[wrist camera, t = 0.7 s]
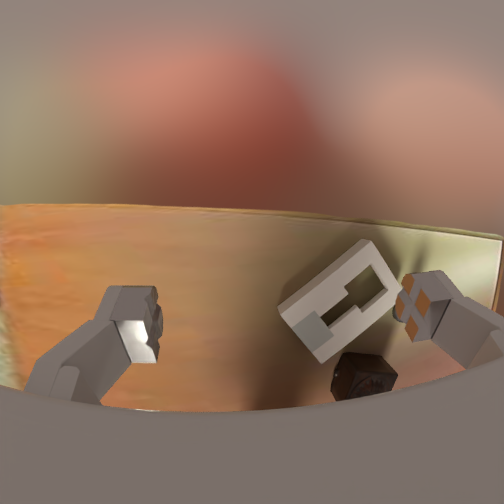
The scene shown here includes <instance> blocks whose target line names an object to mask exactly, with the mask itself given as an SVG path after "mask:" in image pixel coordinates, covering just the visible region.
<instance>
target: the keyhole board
mask: <svg viewBox="0 0 504 504" xmlns="http://www.w3.org/2000/svg"><path fill="white" fill-rule="evenodd" d="M369 265H371V267H372V268H373V270H374V271H375V273H376V275H377V276H378V278H379V279H380V281H381V282H382V284H383V285H384V287H385V288H384V289H382V290H381V291H380V292H379V293H378V294H377V295H375V296H374V297H373V298H372V299H371V300H370V301H368V302H367V303H366V304H365V305H364V306H363V307H361V308H360V309H359V308H358V307H357V306H356V305H354V306H353V307H351V308H350V309H349V310H348V311H346V312H345V313H344V314H343V315H342V316H340V317H339V318H338V319H337V320H335V321H334V322H333V323H332V324H330V325H329V326H328V327H327V326H326V324H325V323H324V322H323V320H322V319H321V318H320V316H322V315H323V314H324V313H326V312H327V311H328V310H329V309H331V308H332V307H333V306H334V305H336V304H337V303H338V302H339V301H341V300H342V299H343V298H344V297H345V296H347V295H348V292H347V291H346V289H345V288H344V286H345V285H346V284H348V283H349V282H350V281H351V280H352V279H354V278H355V277H356V276H357V275H358V274H360V273H361V272H362V271H363V270H364V269H365V268H367V267H368V266H369ZM401 290H402V289H401V287H400V285H399V284H398V282H397V280H396V279H395V277H394V275H393V274H392V272H391V271H390V269H389V267H388V266H387V264H386V263H385V261H384V259H383V258H382V256H381V255H380V253H379V252H378V250H377V249H376V247H375V245H374V244H373V242H372V241H370V240H366V239H360V240H359V241H358V242H357V243H356V244H354V245H353V246H352V247H351V248H350V249H348V250H347V251H346V252H345V253H344V254H342V255H341V256H340V257H339V258H338V259H336V260H335V261H334V262H333V263H332V264H330V265H329V266H328V267H327V268H325V269H324V270H323V271H322V272H320V273H319V274H318V275H317V276H315V277H314V278H313V279H312V280H310V281H309V282H308V283H307V284H305V285H304V286H303V287H302V288H300V289H299V290H298V291H297V292H295V293H294V294H293V295H291V296H290V297H289V298H288V299H286V300H285V301H284V302H282V303H281V304H280V305H279V306H277V308H278V311H279V314H280V315H281V317H282V318H283V319H284V320H285V321H286V323H287V324H288V325H289V326H290V327H291V329H292V330H293V331H294V332H295V333H296V335H297V336H298V337H299V338H300V339H301V341H302V342H303V343H304V344H305V345H306V347H307V348H308V349H309V350H310V351H311V352H312V354H313V355H314V356H315V357H316V358H317V360H318V361H319V362H320V363H321V364H322V363H324V362H325V361H326V360H328V359H329V358H330V357H332V356H333V355H334V354H336V353H337V352H338V351H339V350H341V349H342V348H343V347H345V346H346V345H347V344H348V343H350V342H351V341H352V340H353V339H355V338H356V337H357V336H358V335H360V334H361V333H362V332H363V331H365V330H366V329H367V328H368V327H369V326H371V325H372V324H373V323H374V322H375V321H376V320H378V319H379V318H380V317H381V316H382V315H383V314H385V313H386V312H387V311H388V310H389V309H390V308H391V307H393V306H394V305H395V301H396V298H397V295H398V293H399V292H400V291H401Z"/></svg>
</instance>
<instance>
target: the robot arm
mask: <svg viewBox="0 0 504 504" xmlns="http://www.w3.org/2000/svg"><path fill="white" fill-rule="evenodd" d="M401 284H402V287H403V289H402V290H401V291H400V292H399V293H398V295H397V298H396V301H395V309H396V313H397V316H398V317H399V319H400V320H401V321H402V322H404V323H406V326H405V330H406V332H407V334H408V335H409V337H410V339H411V341H412V342H417V341H423V340H429V339H432V341H433V342H434V343H435V344H437V345H438V346H439V347H440V348H441V349H443V350H444V351H445V352H446V353H447V354H449V355H450V356H451V357H452V358H453V359H455V360H456V361H457V362H458V363H459V364H461V365H462V366H463V367H464V368H465V369H466V370H464V371H461V372H458V373H455V374H452V375H449V376H446V377H442V378H439V379H436V380H432V381H429V382H425V383H421V384H418V385H414V386H410V387H406V388H402V389H398V390H394V391H389V392H385V393H380V394H376V395H371V396H366V397H361V398H355V399H350V400H344V401H338V402H331V403H324V404H317V405H310V406H301V407H292V408H282V409H270V410H255V411H232V412H178V411H156V410H141V409H129V408H119V407H110V406H103V405H102V404H101V402H100V399H101V398H102V397H103V396H104V395H105V394H106V393H107V391H108V390H109V389H110V388H111V387H112V386H113V384H114V383H115V382H116V381H117V380H118V379H119V378H120V376H121V375H122V374H123V373H124V372H125V371H126V369H127V368H128V367H129V366H130V365H131V363H157V359H158V354H159V348H160V346H159V342H158V339H159V338H160V337H161V336H162V332H163V315H162V310H161V307H160V306H159V305H158V304H157V300H158V293H157V289H156V287H155V286H126V285H125V286H109V287H108V288H107V290H106V292H105V294H104V296H103V299H102V301H101V303H100V305H99V308H98V310H97V312H96V315H95V317H94V319H93V320H89V321H87V322H86V323H85V324H83V325H82V326H81V327H79V328H78V329H77V330H75V331H74V332H73V333H71V334H70V335H69V336H67V337H66V338H65V339H63V340H62V341H61V342H59V343H58V344H57V345H56V346H54V347H53V348H52V349H50V350H49V351H48V352H47V353H45V354H44V355H43V356H41V357H40V358H39V359H38V360H37V361H36V363H35V365H34V368H33V370H32V372H31V374H30V377H29V379H28V382H27V384H26V386H25V389H24V391H21V390H17V389H14V388H10V387H6V386H3V385H0V504H504V317H502V316H501V315H499V314H497V313H495V312H494V311H492V310H490V309H488V308H487V307H485V306H483V305H481V304H480V303H478V302H476V301H474V300H472V299H471V298H469V297H464V296H463V295H462V293H461V292H460V291H459V290H458V289H457V287H456V286H455V285H454V284H453V282H452V281H451V280H450V279H449V278H448V276H447V275H446V274H445V273H444V272H443V271H441V270H436V271H429V272H422V273H410V274H406V275H405V276H404V277H403V280H402V283H401Z"/></svg>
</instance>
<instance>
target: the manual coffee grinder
mask: <svg viewBox="0 0 504 504" xmlns="http://www.w3.org/2000/svg"><path fill="white" fill-rule="evenodd" d="M333 376H334V378H333V381H332V384H331V390H330V391H331V392H332V394H333V396H334V398H335V400H336V402H338V401H344V400H350V399H355V398H361V397H366V396H371V395H376V394H380V393H385V392H389V391H391V390H392V388H393V386H394V383H395V381H396V379H397V376H398V374H397V373H396V371H395V370H394V369H393V368H392V367H391V366H390V365H389V364H388V363H387V362H386V361H385V360H384V358H383V357H382V356H377V355H370V354H361V353H351V352H346V353H343V354H342V356H341V359H340V361H339V364H338V366H337V368H336V369H335V372H334V375H333Z"/></svg>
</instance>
